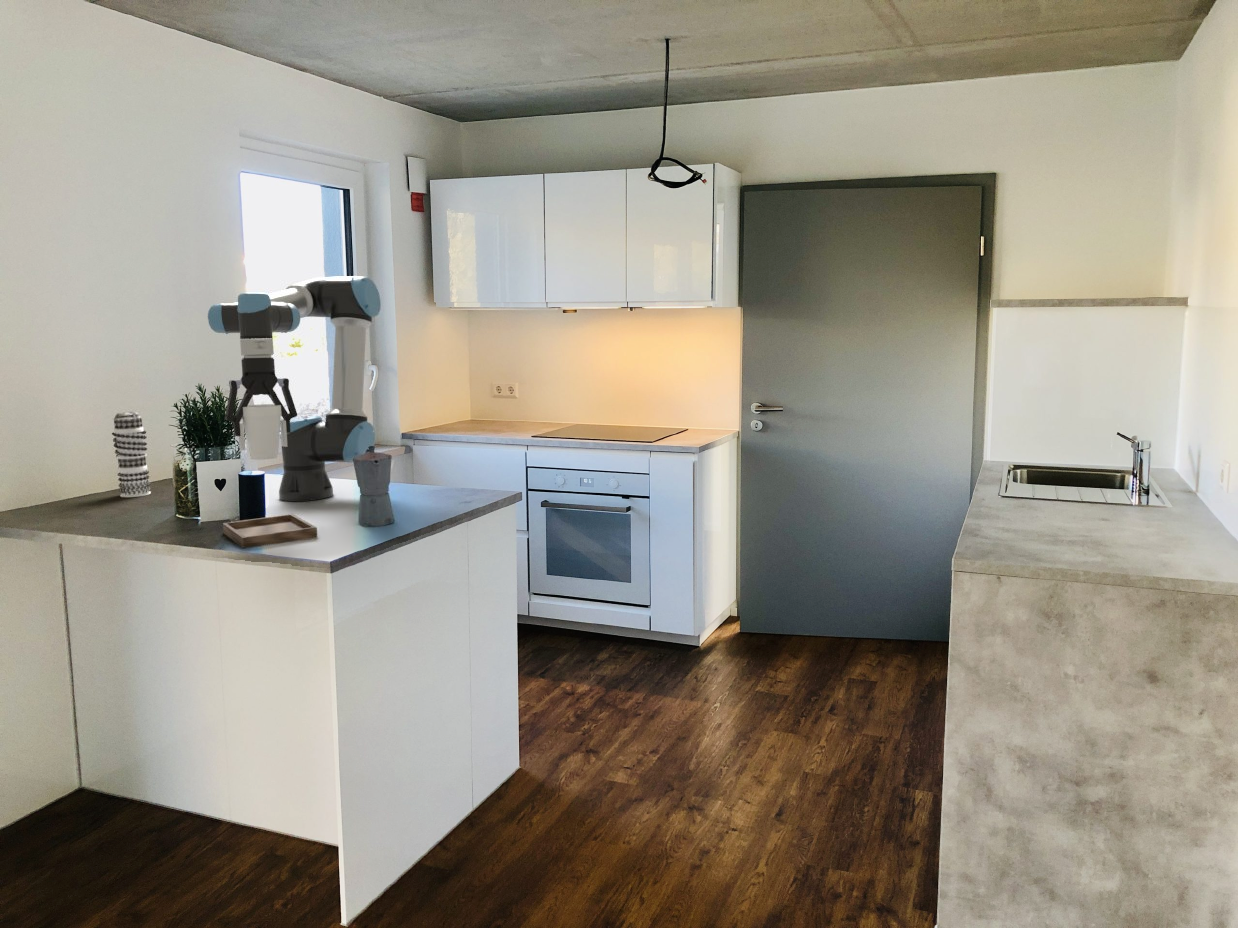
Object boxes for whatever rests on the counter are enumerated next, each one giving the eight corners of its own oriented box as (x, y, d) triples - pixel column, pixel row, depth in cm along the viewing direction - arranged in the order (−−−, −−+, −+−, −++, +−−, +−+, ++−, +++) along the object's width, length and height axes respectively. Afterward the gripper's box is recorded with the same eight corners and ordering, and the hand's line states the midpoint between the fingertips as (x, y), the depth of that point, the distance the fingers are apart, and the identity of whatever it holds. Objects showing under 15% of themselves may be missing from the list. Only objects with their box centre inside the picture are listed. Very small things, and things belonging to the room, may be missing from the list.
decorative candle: (148, 496, 288) (140, 413, 284) (114, 498, 286) (106, 415, 282) (155, 491, 297) (147, 410, 293) (123, 492, 295) (114, 412, 291)
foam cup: (270, 460, 232) (266, 407, 230) (236, 460, 234) (232, 407, 232) (291, 455, 241) (288, 404, 239) (258, 455, 243) (255, 404, 241)
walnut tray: (293, 523, 246) (292, 513, 245) (317, 537, 229) (316, 527, 229) (223, 533, 236) (222, 523, 236) (243, 548, 220) (242, 537, 219)
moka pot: (363, 530, 236) (358, 450, 232) (349, 519, 249) (344, 443, 246) (401, 526, 240) (397, 447, 237) (386, 515, 253) (381, 440, 250)
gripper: (212, 358, 225) (219, 452, 228) (307, 355, 237) (312, 445, 240) (206, 357, 231) (213, 449, 234) (299, 355, 243) (304, 443, 246)
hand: (263, 447), depth 237 cm, fingers closed on foam cup, 9 cm apart
